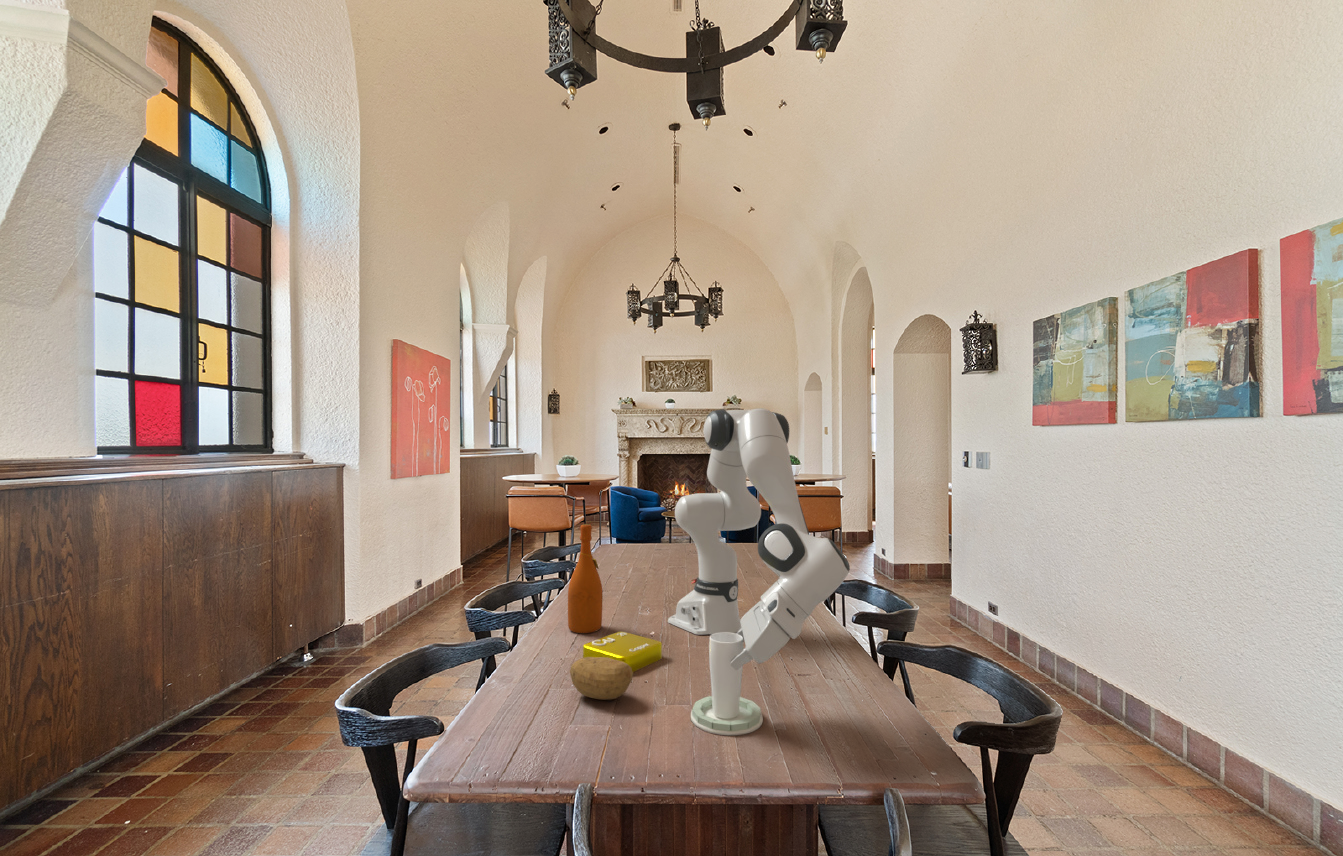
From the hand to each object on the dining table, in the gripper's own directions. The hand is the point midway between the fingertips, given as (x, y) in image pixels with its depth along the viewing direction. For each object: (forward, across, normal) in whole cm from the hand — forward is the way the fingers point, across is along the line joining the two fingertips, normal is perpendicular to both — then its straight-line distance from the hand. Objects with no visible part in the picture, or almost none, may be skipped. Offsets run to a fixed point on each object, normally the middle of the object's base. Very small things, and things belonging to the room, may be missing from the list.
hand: (731, 657), depth 120 cm
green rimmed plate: (+9, 0, +8) cm, 12 cm away
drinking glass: (+9, 0, +7) cm, 11 cm away
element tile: (+27, -31, -9) cm, 42 cm away
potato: (+28, -8, -10) cm, 31 cm away
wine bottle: (+36, -54, -19) cm, 67 cm away
